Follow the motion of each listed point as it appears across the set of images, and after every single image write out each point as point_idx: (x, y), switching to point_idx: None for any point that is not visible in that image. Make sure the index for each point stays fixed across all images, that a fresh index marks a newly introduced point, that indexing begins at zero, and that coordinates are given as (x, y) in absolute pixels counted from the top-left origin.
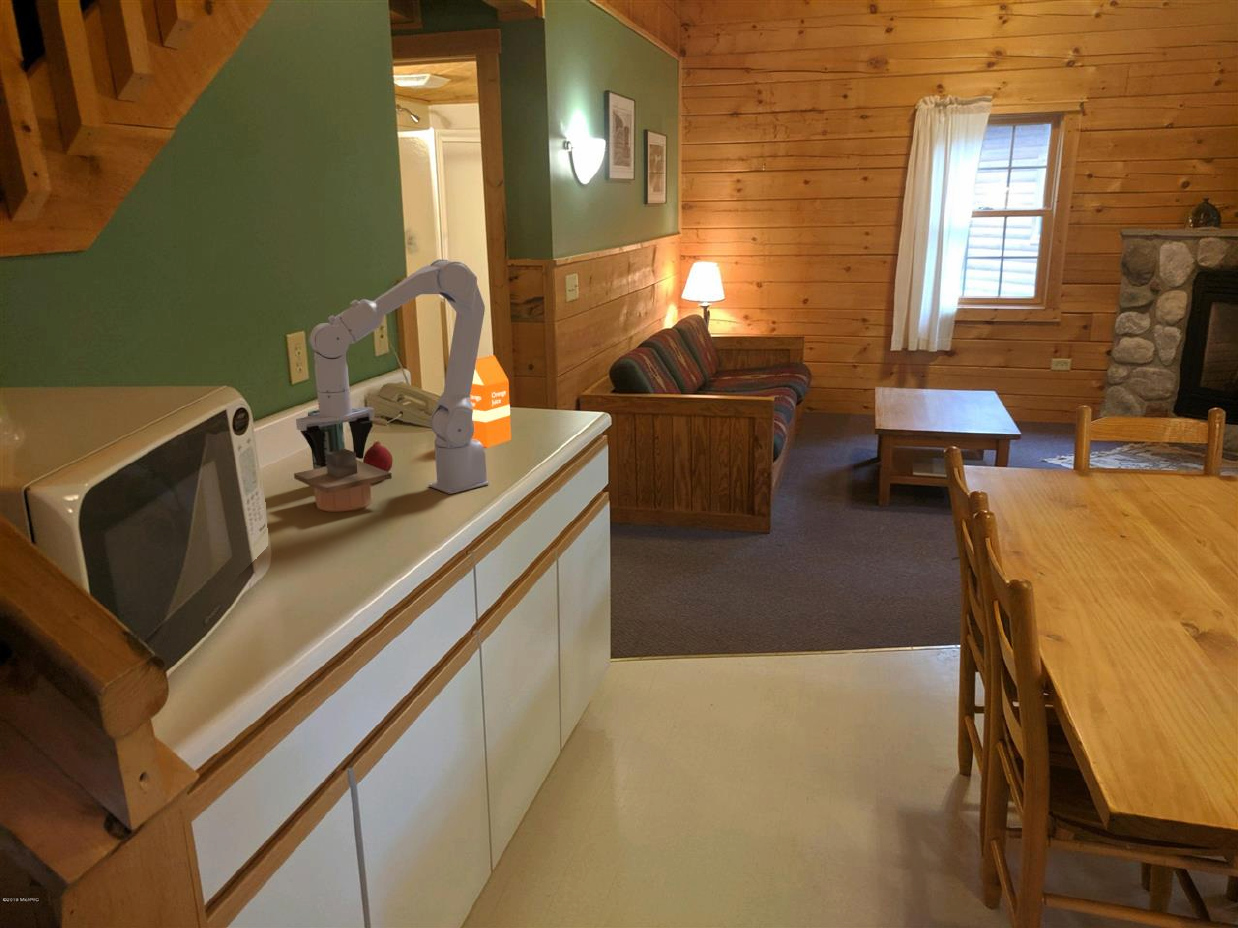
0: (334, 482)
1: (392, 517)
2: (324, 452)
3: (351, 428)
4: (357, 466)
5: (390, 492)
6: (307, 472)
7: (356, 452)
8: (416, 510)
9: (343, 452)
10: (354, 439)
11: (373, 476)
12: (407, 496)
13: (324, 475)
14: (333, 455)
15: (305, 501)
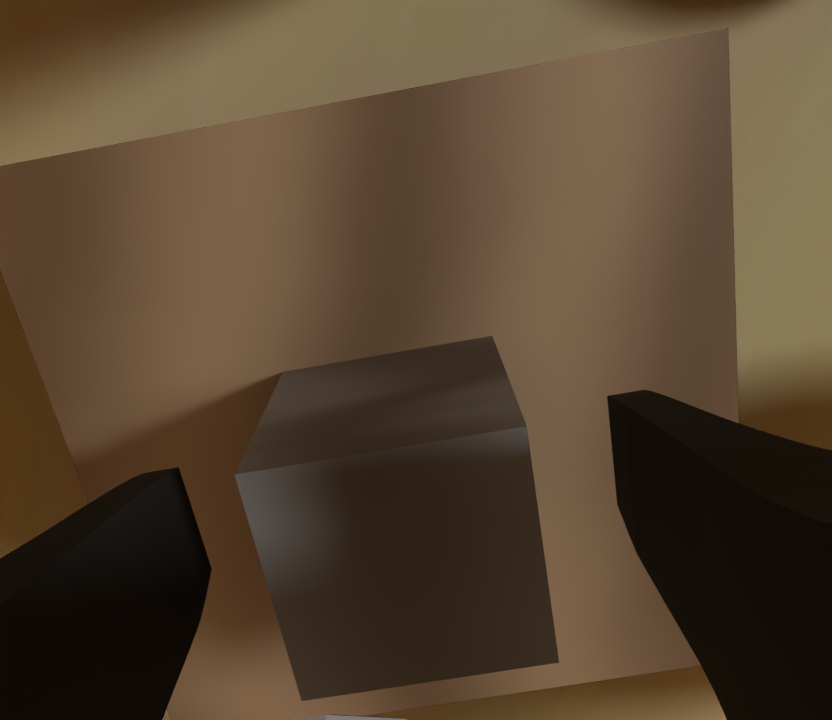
0: (268, 656)
1: (542, 705)
2: None
3: (799, 556)
4: (613, 300)
5: (761, 274)
6: (104, 220)
7: (629, 474)
8: (696, 674)
9: (439, 585)
10: (704, 517)
11: (589, 664)
12: (797, 423)
13: (239, 425)
14: (292, 645)
15: (170, 120)
